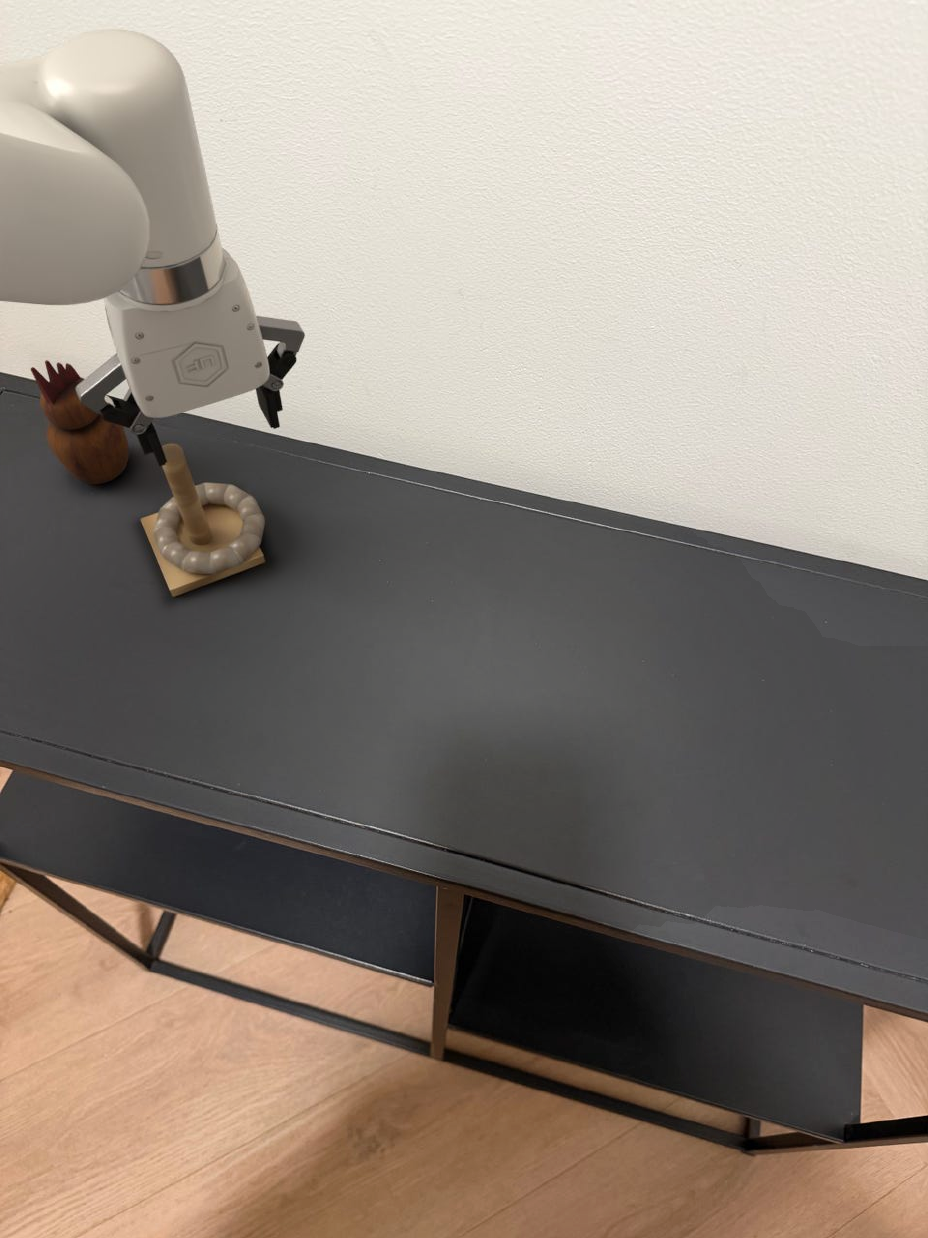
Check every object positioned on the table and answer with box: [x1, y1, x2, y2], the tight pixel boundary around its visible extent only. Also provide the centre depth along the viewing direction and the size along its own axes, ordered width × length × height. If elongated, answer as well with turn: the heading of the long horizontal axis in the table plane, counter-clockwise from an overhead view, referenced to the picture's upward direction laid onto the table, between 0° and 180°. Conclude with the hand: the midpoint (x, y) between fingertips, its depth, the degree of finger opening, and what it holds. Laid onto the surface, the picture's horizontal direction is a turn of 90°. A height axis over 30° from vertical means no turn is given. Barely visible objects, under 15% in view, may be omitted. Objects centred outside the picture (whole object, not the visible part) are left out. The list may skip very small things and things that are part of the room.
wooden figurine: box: [30, 359, 130, 485], centre depth 78 cm, size 7×6×15 cm
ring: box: [153, 482, 266, 574], centre depth 79 cm, size 10×10×2 cm
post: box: [140, 443, 266, 598], centre depth 75 cm, size 9×9×13 cm
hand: (215, 434), depth 70 cm, fingers open, 9 cm apart
